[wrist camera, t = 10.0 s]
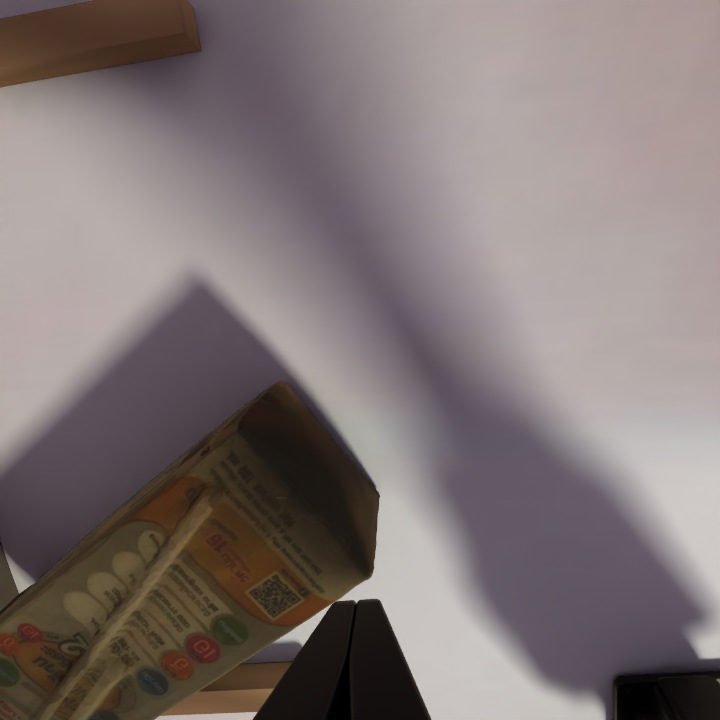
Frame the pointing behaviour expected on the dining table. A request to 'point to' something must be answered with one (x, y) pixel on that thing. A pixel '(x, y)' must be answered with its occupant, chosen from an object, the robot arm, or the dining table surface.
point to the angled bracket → (92, 52)
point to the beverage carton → (193, 571)
